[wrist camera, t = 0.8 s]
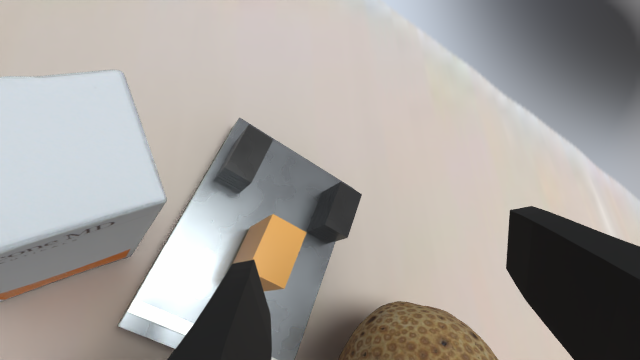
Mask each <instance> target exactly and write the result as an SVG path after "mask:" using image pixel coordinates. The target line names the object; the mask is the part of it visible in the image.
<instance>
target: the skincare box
mask: <svg viewBox="0 0 640 360" xmlns="http://www.w3.org/2000/svg"><path fill="white" fill-rule="evenodd" d="M166 201H167V198H166V195H165V192H164V189H163V186H162V183H161V180H160V177H159V174H158V171H157V168H156V165H155V162H154V159H153V156H152V154H151V151H150V148H149V145H148V142H147V139H146V136H145V133H144V130H143V127H142V124H141V121H140V118H139V115H138V112H137V109H136V107H135V104H134V101H133V98H132V95H131V92H130V90H129V87H128V84H127V81H126V78H125V75H124V73H123V72H122V71H119V70H103V71H92V72H81V73H70V74H58V75H48V76H35V77H23V76H8V77H0V302H1V301H4V300H6V299H9V298H12V297H14V296H17V295H20V294H22V293H25V292H28V291H31V290H33V289H36V288H39V287H42V286H44V285H47V284H50V283H52V282H55V281H58V280H61V279H63V278H66V277H69V276H72V275H75V274H78V273H81V272H84V271H87V270H90V269H93V268H96V267H99V266H102V265H105V264H108V263H111V262H114V261H117V260H120V259H123V258H127V257H129V256H131V255H132V254H133V252H134V251H135V249H136V248H137V246H138V244H139V243H140V241H141V240H142V238H143V237H144V235H145V233H146V232H147V230H148V229H149V228H150V226H151V224H152V223H153V221H154V220H155V218H156V217H157V215H158V213H159V212H160V210H161V209H162V207H163V206H164V204H165V203H166Z"/></svg>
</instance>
